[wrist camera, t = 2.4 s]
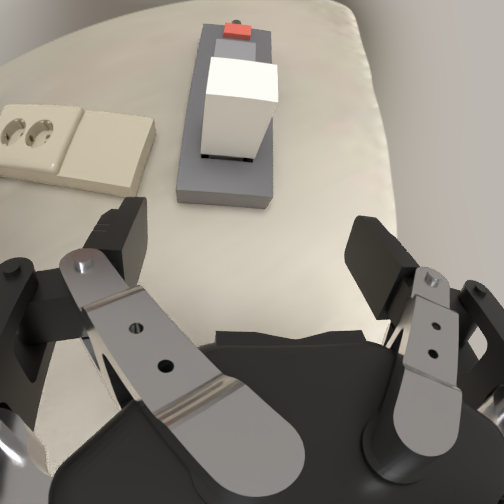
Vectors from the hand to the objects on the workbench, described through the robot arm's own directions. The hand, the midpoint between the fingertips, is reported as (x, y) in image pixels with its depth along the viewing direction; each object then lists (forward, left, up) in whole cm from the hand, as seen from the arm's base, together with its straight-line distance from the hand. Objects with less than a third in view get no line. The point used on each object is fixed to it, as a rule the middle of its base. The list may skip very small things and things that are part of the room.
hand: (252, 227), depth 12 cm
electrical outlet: (-16, +12, -17) cm, 26 cm away
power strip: (0, +20, -16) cm, 25 cm away
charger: (0, +12, -16) cm, 20 cm away
